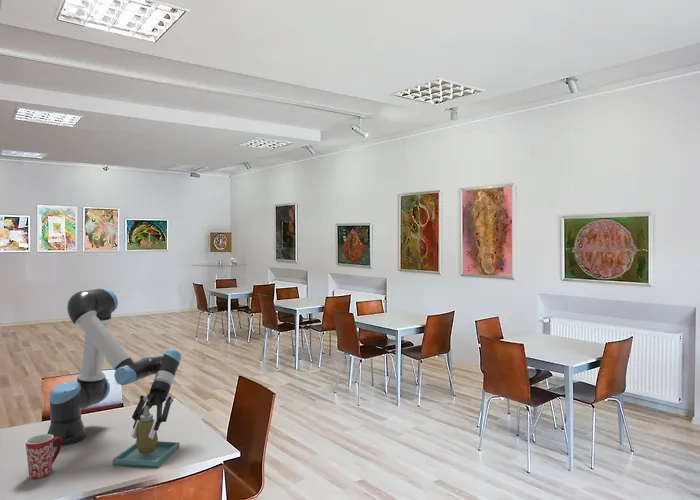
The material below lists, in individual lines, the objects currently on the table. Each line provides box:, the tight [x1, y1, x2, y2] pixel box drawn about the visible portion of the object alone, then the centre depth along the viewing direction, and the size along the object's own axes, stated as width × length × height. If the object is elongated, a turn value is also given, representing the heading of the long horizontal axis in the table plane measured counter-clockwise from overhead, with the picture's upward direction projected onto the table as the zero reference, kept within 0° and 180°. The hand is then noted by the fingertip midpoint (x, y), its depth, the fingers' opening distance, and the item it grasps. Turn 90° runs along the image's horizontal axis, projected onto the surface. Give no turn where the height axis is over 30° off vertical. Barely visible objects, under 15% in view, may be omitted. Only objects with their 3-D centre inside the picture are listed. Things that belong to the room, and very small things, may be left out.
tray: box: [112, 440, 180, 469], centre depth 200 cm, size 18×18×2 cm
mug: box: [24, 433, 63, 480], centre depth 187 cm, size 13×9×14 cm
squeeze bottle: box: [135, 405, 159, 454], centre depth 200 cm, size 8×8×18 cm
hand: (142, 437), depth 196 cm, fingers closed on squeeze bottle, 6 cm apart
